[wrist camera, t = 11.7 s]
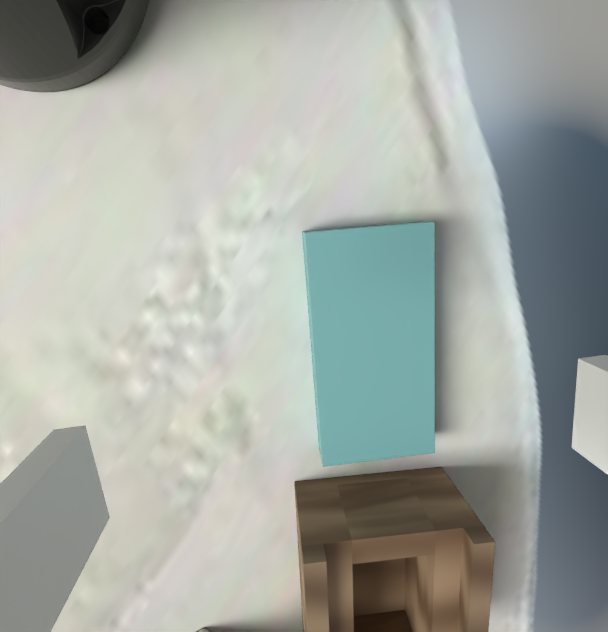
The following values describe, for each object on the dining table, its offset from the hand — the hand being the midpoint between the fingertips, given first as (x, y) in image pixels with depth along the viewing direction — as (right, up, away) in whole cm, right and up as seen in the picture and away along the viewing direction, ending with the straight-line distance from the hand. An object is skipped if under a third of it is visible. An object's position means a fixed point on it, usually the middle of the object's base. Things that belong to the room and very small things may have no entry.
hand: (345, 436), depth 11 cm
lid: (+4, +1, +22) cm, 22 cm away
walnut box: (+5, -18, +26) cm, 32 cm away
